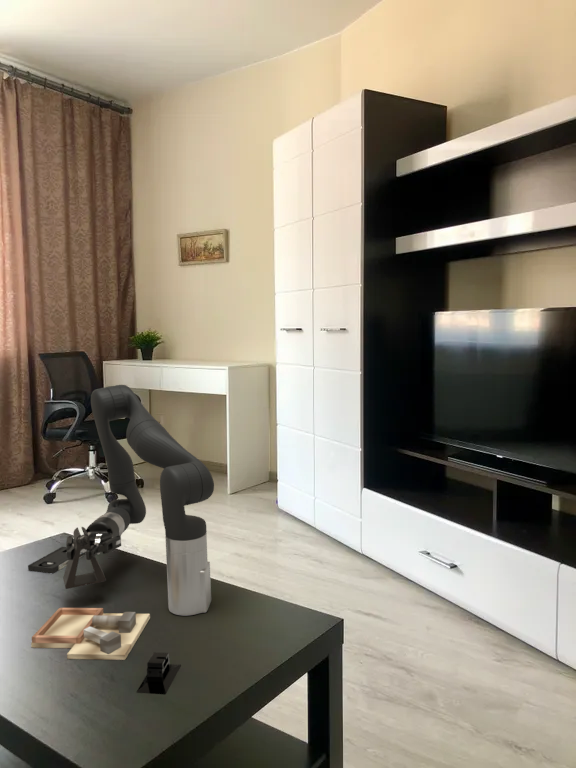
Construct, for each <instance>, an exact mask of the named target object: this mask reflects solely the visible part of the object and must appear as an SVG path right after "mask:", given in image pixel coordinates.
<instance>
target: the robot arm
mask: <svg viewBox="0 0 576 768" xmlns="http://www.w3.org/2000/svg"><path fill="white" fill-rule="evenodd" d="M90 407H91V412H92V416H93V419H94V422H95V423H94V424H95V426H96V429H97V434H98V437H99V438H98V439H99V441H100V444H101V448H102V451H103V455H104V459H105V463H106V467H107V469H106V470H107V475H108V476H107V477H108V481H109V489H110V491H111V492H112V493H113V494H114V495H115V494H116V495H121V496H123V497H125V498H118V499H114V500H112V501H110V502H109V503H108V506H107V509H106V511H105V513H103V514H102V515H100V516H99V517H97V518H96V519H95V520H94V521H93V522H91V524H89V525H88V526H87V527H86V528H85V529H86V531H87V533H88V536H89V538H90V546H91V549H92V551H91V549H90V550H86V549H82V550H81V551H80V553H84V552H85V559H86V560H87V561H89V560H90V559H91V558H93V557H94V556H98V555H100V554H101V553H102V554H105V555H106V554H108V553H110V552H112V551H114V550H116V549H118V548H120V547H122V535H123V533H125V531H126V530H128V528H129V526H130V525H133V524H134V525H136V524H140V523H142V522H144V520H145V518H146V514H147V508H146V505H145V502H144V499H143V497H142V495H141V493H140V491H139V488H138V485H137V481H136V475H135V467H134V463H133V460H132V458H131V456H130V454H129V453H128V452H127V450H126V449H125V447H123V445H122V444H121V443H120V442H119V441H118V440H117V438H116V437H115V436H114V434H113V432H112V429H111V426H110V425H111V424H110V422H111V421H116V420H121V419H125V418H127V419H129V422H128V424H127V428H126V434H125V436H126V442H127V443H128V446H129V447H130V448H131V449H132V450H133V452H134V453H135V454H136V455H137V457H138V458H140V459H141V460H143V461H144V462H145V463H148V464H151V465H153V466H156V467H158V468H161V469H162V471H161V473H160V478H159V489H160V491H159V492H160V500H161V511H162V521H163V526H164V532H165V534H164V535H165V553H166V554H165V556H166V559H165V560H166V575H167V576H166V580H167V582H166V583H167V603H168V610H169V612H170V613H171V614H174V615H177V616H193V615H198V614H203V613H207V611H208V610H209V607H210V605H211V602H212V588H211V587H212V584H211V583H212V582H211V563H210V561H208V560H209V559H208V538H207V537H208V536H207V531H208V530H207V523H206V522H207V521H206V520H205V519H204V518H202V517H200V516H196V515H190V514H186V510H185V509H186V508H185V506H191V505H194V504H198V503H202V502H204V501H207V500H208V499H209V498H211V497H212V495H213V493H214V491H215V490H214V489H215V484H214V479H213V476H212V473H211V472H210V470H209V468H208V467H207V466H206V465H205V463H203V462H202V461H201V460H200V459H199V458H197V457H196V456H195V455H194V454H192V453H191V452H189V451H188V450H187V449H186V448H185V447H183V446H182V444H180V443H179V442H178V441H177V440H176V439H175V438H174V437H173V436H172V435H171V434H170V433H169V432H168V430H167V429H166V428H165V427H164V426H163V425H162V424H161V423H160V422H159V421H158V420H156V418H155V417H153V415H152V414H151V413H150V412H149V411H148V410H147V408H145V405H143V403H142V402H141V400H140V399H139V397H137V395H136V393H135V392H134V391H133V389H131V387H130V386H128V385H127V384H116V385H111V386H106V387H100V388H97V389H94V390H93V391H92V392H91V395H90ZM80 535H81V536H80V537H79V538H80V539H81V538H83V537H84V533H83V534H80ZM79 538H78V539H79ZM73 543H74V536H73V535H68V536H67V537H66V542H65V544H66V545H65V547H66V548H67V558H68V560H72V558H73V553H74V544H73Z"/></svg>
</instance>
